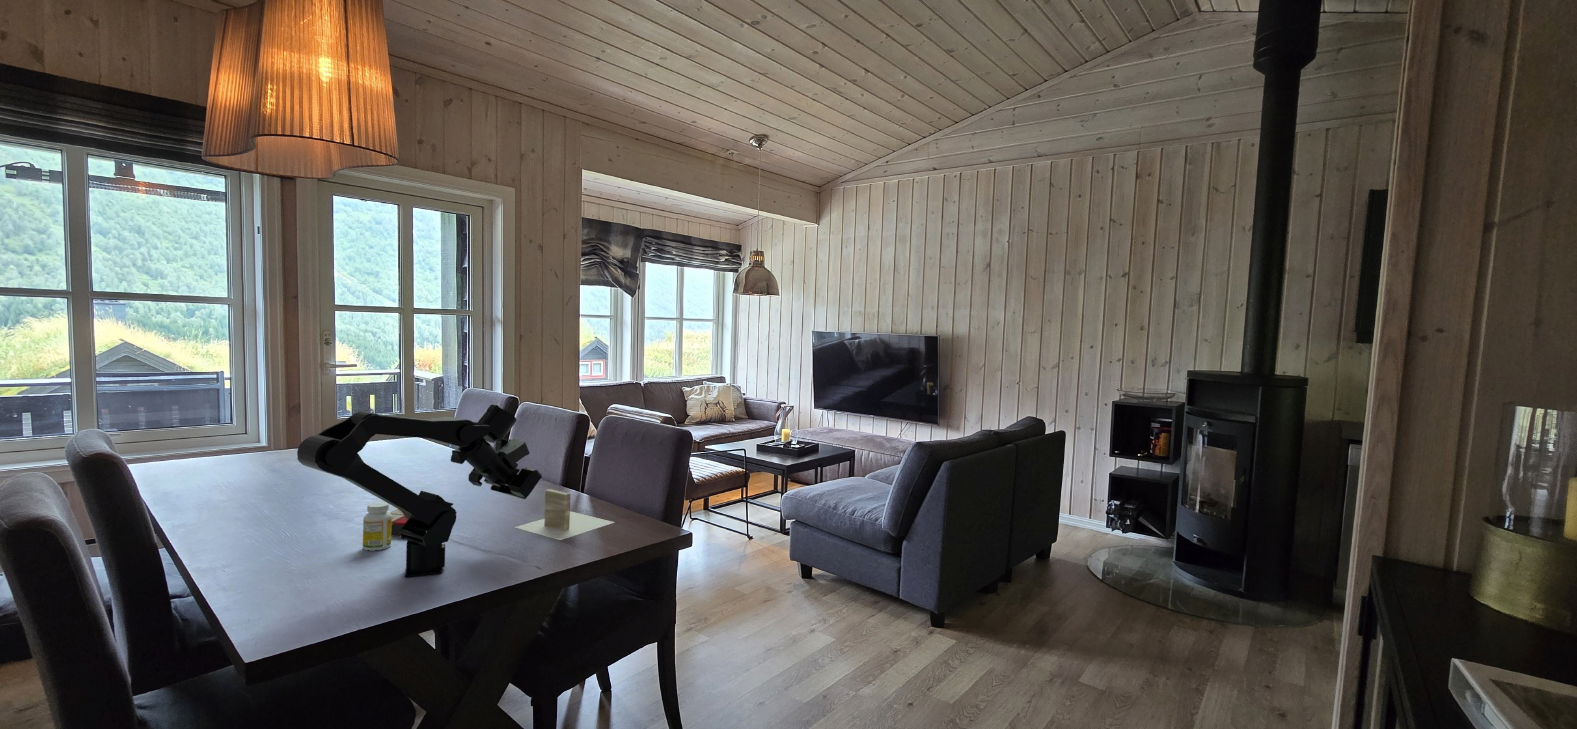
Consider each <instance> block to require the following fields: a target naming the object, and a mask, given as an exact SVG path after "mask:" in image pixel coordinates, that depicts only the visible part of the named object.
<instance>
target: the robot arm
mask: <svg viewBox="0 0 1577 729" xmlns="http://www.w3.org/2000/svg"><path fill="white" fill-rule="evenodd" d="M515 424H517V418H516V416H515V415H513V413H510V412H508V411H507V410H505V409H503V408H502V407H500V406H499V405H498V404H494V403H493V404H490V405H489V406H488V408H487V409H486V411H485V413H484V414H483V415H482V416H481V417H480V419H479V420H478V421H477V422H475V421H473V420H471V419H470V420H469V419H467V418H461V417H455V416H441V417H432V418H415V417H407V416H406V417H405V416H396V415H388V414H379V413H375V412H368V411H364V410H362V411H361V410H360V411H358V412H355V413H353V414H351V415H350V416H349V417H347V418H346V419H344V420H342V421H340V422H338V423H336V424H334V425H331V426H329V427H327V428H325V429H324V430H322V431H321V432H319V433H318V434H315V435H311V436H309V437H307V438H305V439H304V440H303V441H302V442H300V444H299V446H298V448H297V452H296V454H297V457H296V458H297V460H298V462H299V463H300V464H301V465H303V466H305V467H308V468H311V469H313V470H317V471H320V472H323V473H326V474H330V475H332V476H335V477H338V478H341V479H344V480H346V481H347V482H349V483H351V484H353V485H355V486H357V488H358V487H359V488H361V490H363V491H365V492H368V493H369V494H371V496H374V497H376V498H378V499H380V500H382V502H385V503H388V504H389V506H390V505H391V506H392V507H394V508H396V509H399V510H401V511H402V513H403V514H404V516H405V517H406V518H407V519H408V520H407V521H406V522H405V523H404V525H403V526H402V527H401V528H400V529H399V534H400V536H401V537H400V536H399V537H400V539H401V540H405V541H406V548H405V551H406V554H405V556H406V558H405V572H404V577H405V578H410V577H417V576H418V577H419V576H428V575H437V574H439V575H440V574H441V573H443V569H444V568H445V567H446V543H447V542H449V540H450V537H451V533H452V531H453V528H454V526H455V524H456V521H457V511H456V509H455V507H452V506H453V505H454V503H453V502H449V501H446V500H445V499H444V498H443V497H442V496H440V494H436V493H432V492H428V491H424V490H420V492H419V494H417V493H416V492H414V491H412V490H411V489H409V488H408V487H405V486H404V485H402V484H400V483H399V482H397V481H395V480H394V479H392V478H390V477H388V476H387V475H386V474H384V473H382V472H380V471H379V470H377V469H375V468H373V467H372V466H371V465H369V464H367V463H366V462H364V460H363V459H362V458H361V456H360V454H359V453H360V452H361V451H362V450H363V449H364V448H365V446H366V445H367V444H368V443H369V441H370V440H371V438H373V437H374V436H375V435H383V436H394V437H396V436H397V437H406V438H408V437H409V438H417V439H418V438H419V439H428V440H430V441H435V442H438V443H442V444H446V445H450V446H455V447H457V448H456V449H452V450H451V456H450V462H451V463H456V464H458V465H463V464H464V463H465V461H466V462H467V463H468V464H469V465H470V466H471V467H472V468H473V469H471V471H470V473H469V474H468V481H469V483H470V484H472V485H473V486H476V487H482V485H483V482H484V483H485V484H488V485H490V490H491V491H494V492H496V493H501V494H504V495H508V496H512V497H515V498H518V499H522V500H526V499H527V498H528V497H529V496H530V494H531V493H532V492H533V490H534V489H535V487H536V486H537V484H538V483H539V481H540V480H541V479H542V478H543V475H542V473H541V472H540V471H539V470H538V469H535V468H530V467H523V468H521V469H519V468H518V466H519V464H518V462H519V461H520V460H522V459H523V458H525V457H527V456H528V455H530V450H529V448H528V445H527V442H526V441H525V440H522V439H516V438H515V439H514V438H512V439H508V440H507V438H505V437H506V436H507V435H508V433H509V432H510V431H511V429H512V428H513V427H514V425H515ZM490 443H492V444H495V448H494V446H493V445H491V444H490ZM483 478H484V479H483ZM482 479H483V482H482V481H481V480H482ZM426 530H427V531H426Z"/></svg>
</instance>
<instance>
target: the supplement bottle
mask: <svg viewBox="0 0 1577 729" xmlns="http://www.w3.org/2000/svg"><path fill="white" fill-rule="evenodd" d="M389 506H390V504H389V503H387V502H385V501H382V502H380V501H379V502H371V503H368V504H367V507H366V508H367V509H366V510H367V512H368V513H366V514H365V515H364V516H363V519H362V520H363V522H362V523H363V528H362V548H363V550H365V551H367V550H369V551H368V552H375V550H378V551H382V549H383V550H385V549H388V548H390V547H391V546H392V536H391V527H392V515H391V513H390V512H389V510H390V508H389Z"/></svg>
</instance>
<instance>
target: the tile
mask: <svg viewBox="0 0 1577 729" xmlns="http://www.w3.org/2000/svg"><path fill="white" fill-rule="evenodd" d="M544 492H545V494H544V495H545V496H544V519H545V521H544V526H548V527H551V528H555V529H559V530H563V531H566V530H569V523H570V511H571V493H569V492H564V491H560V490H556V489H551V488H548V489H545V491H544Z"/></svg>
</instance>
